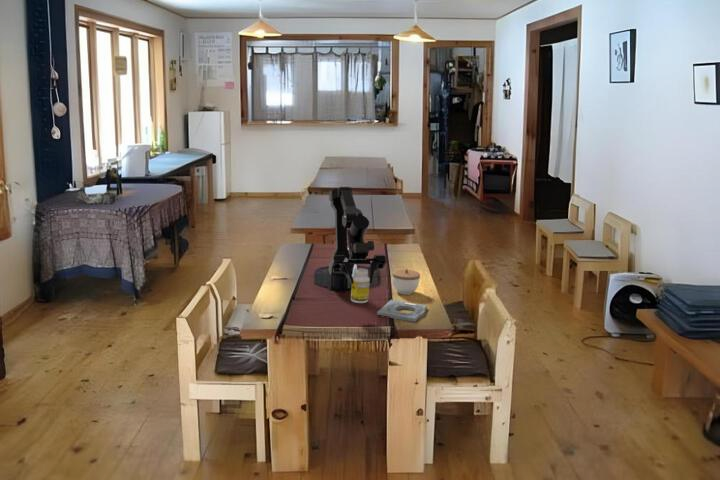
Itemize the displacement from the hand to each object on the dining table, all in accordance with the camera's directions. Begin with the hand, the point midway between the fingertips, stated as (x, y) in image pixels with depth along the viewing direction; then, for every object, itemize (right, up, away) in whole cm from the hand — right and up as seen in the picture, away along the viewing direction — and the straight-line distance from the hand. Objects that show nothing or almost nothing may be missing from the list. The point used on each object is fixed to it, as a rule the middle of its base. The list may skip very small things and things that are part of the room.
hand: (361, 283), depth 260 cm
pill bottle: (-1, -6, +3) cm, 7 cm away
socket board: (+15, -11, +14) cm, 23 cm away
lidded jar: (+17, -6, +37) cm, 41 cm away
